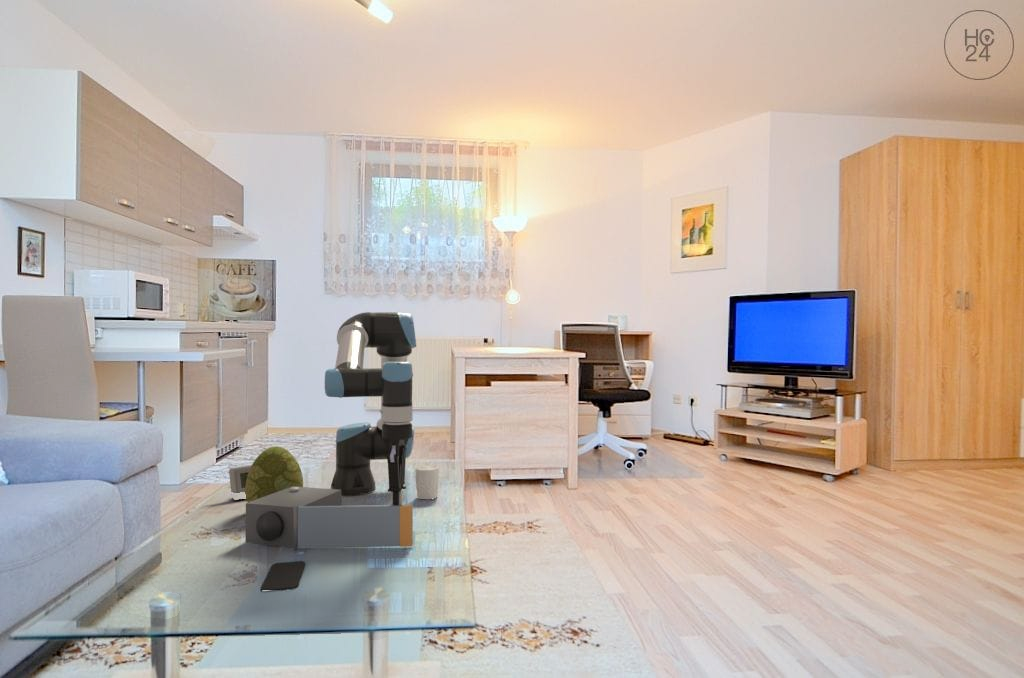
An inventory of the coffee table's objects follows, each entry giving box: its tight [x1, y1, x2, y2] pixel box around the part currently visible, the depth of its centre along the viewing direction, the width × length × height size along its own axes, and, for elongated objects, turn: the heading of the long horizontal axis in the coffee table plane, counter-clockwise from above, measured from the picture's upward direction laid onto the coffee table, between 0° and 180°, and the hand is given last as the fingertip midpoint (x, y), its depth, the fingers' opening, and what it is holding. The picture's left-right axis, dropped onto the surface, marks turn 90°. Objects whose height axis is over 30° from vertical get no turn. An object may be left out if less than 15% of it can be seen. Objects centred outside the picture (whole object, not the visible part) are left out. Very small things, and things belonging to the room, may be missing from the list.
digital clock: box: [228, 464, 252, 493], centre depth 195 cm, size 16×9×11 cm, turn 122°
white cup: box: [414, 464, 440, 500], centre depth 192 cm, size 8×8×10 cm
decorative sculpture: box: [245, 445, 304, 503], centre depth 175 cm, size 16×16×20 cm
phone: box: [260, 560, 306, 591], centre depth 125 cm, size 7×1×15 cm
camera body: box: [245, 486, 342, 548], centre depth 154 cm, size 21×16×11 cm
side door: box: [292, 504, 414, 550], centre depth 143 cm, size 29×1×10 cm, turn 93°
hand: (396, 516), depth 145 cm, fingers closed
